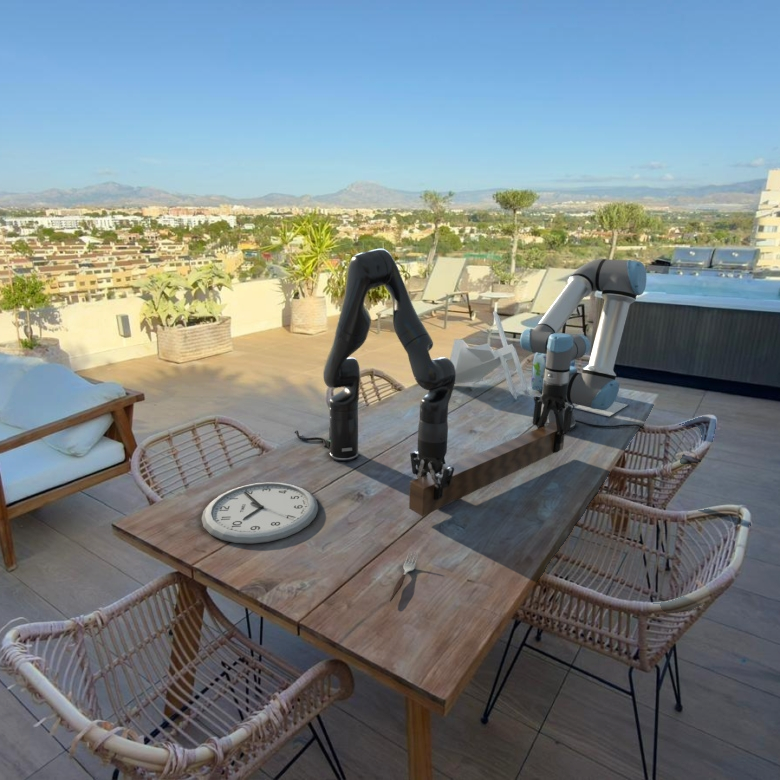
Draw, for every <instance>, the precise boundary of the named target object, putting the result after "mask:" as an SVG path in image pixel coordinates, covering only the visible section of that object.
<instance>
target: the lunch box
mask: <svg viewBox="0 0 780 780" xmlns="http://www.w3.org/2000/svg"><path fill="white" fill-rule="evenodd" d="M546 355H547V354H543V353H537V352H535V353H534V356H533V360H532V367H531V368H532V369H531V382H530V383H531V386H530V387H531V389H532V390H533V391H537V392H542V391H543V381H544V380H543V379H544V375H545V366H546ZM575 364H576V359H575V360H572V361H571V364H570V366H573V367H575Z"/></svg>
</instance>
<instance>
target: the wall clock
mask: <svg viewBox="0 0 780 780" xmlns="http://www.w3.org/2000/svg"><path fill="white" fill-rule="evenodd" d="M318 511H319V505H318V501H317V499H316V498H315V496H314V495H313V494H312V493H310V492H309V491H307V490H306V489H304V488H302V487H299V486H297V485H294V484H290V483H285V482H271V481H269V482H256V483H250V484H246V485H242V486H239V487H235V488H233V489H229V490H227V491H226V492H224V493H221V494H219V495H218V496H217V497H216V498H214V499H213V500H211V502H209V503H208V504H207V506H206V507H205V508H204V510H203V511H202V515H201V523H202V527H203V528H204V530H205V531H207V532H208V533H209V535H211V536H213V537H214V538H217V539H219V540H221V541H225V542H230V543H233V544H234V543H235V544H260V543H261V544H262V543H270V542H273V541H277V540H282V539H285V538H287V537H289V536H292V535H294V534H297V533H299V532H300V531H302V530H303V529H304V528H306V527H308V526H309V525H310V524H311V523H312V522H313V521H314V519H315V518H316V516H317V514H318Z"/></svg>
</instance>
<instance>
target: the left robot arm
mask: <svg viewBox="0 0 780 780" xmlns="http://www.w3.org/2000/svg"><path fill="white" fill-rule="evenodd" d="M379 287H384V288H385V289H386V290H387V292H388V294H389V295H390V299H391V303H392V325H393V331H394V332H395V335H396V337H397V338H398V340H399V342H400V344H401V345H402V347H403V349H404V351H405V352H406V354H407V357H408V362H409V365H410V368H411V372H412V375H413V378H414V380H415V382H416V383H417V384H418V386H420V387H421V388H422V389H424V390H426V391H428V392H427V393H426V394H425V395H424V396H422V398H421V399H420V402H419V403H420V404H419V421H418V426H417V449H416V450H414V451H413V452H410V454H409V455H410V457H409V458H410V463H411V473H412V475H415V476H416V479H418V478H420V477H422V476H425V475H427V474H431V478H432V480H434V484H435V487H434V500H436V501H437V500H439V499H441V498H442V496H443V489H444V488H445V487H448V486H450V483H451V479H452V476H453V472H454V468H453V467H448V466H449V465H447V463H446V460H445V458H446V456H447V455H446V454H447V452H448V435H449V424H448V423H449V422H448V421H449V420H448V419H449V418H448V417H449V403H450V400H451V397H452V394H453V390H454V387H455V385H456V384H455V378H456V371H455V367H454V365H453V363H452V362H451V360H450V358H448V357H445V356H444V357H443V356H439V357H437V358H434V359H432V358H431V355H430V351H431V350H432V348H433V347H434V341H433V339H432V337H431V335H430V334H429V332H428V330H427V329H426V327H425V325H424V323H423V322H422V320H421V319H420V317H419V315H418V313H417V311H416V309H415V307H414V305H413V302H412V299H411V298H410V295H409V292H408V290H407V287H406V285H405V282H404V280H403V277H402V275H401V273H400V270H399V267H398V264H397V262H396V261H395V259H394V258H393V256H392V255H391V253H390V252H389V251H388V250H386V249H384V248H377V249H372V250H368V251H364V252H360V253H357V254H355V255H353V256H352V257H351V258H350V261H349V264H348V267H347V273H346V281H345V288H344V296H343V300H342V304H341V308H340V312H339V315H338V319H337V322H336V327H335V332H334V337H333V340H332V344H331V347H330V350H329V352H328V354H327V357H326V360H325V362H324V366H323V375H322V376H323V381H324V384H325V385H326V387H328V388H330V389H341V388H343V389H342V390H341V391H339V392H338V393H336V394H334V395H332V396H331V397H330V398H329V402H328V405H329V406H328V408H329V409H328V410H329V427H328V438H327V439H325V438H323V437H319V436H316V437H301V436H300V433H299V430H297V429H296V430H294V432H293V434H295V435H296V437H297V438H298V439H299V440H301V441H322V442H323V447H324V448H326V447H327V448H328V449H329V457H330V459H332V460H334V461H337V462H351V461H353V460H356V459H357V458H358V457H359V399H360V381H361V372H360V371H361V369H360V364H359V362H358V360H357V358H355V357H351V356H352V355H353V354H354V353H356V351H358V350H359V349H360V348H361V347H362V346H363V345H364V344H365V342H366V340H367V339H368V335H369V332H370V329H371V325H372V318H371V317H372V316H371V314H370V312H369V310H368V308H367V307H366V305H365V302H366V301H365V300H366V297H367V294H368V292H369V291H370V290H372V289H376V288H379ZM437 473H439V474H438V475H436V474H437ZM438 479H439V481H440V482H438Z"/></svg>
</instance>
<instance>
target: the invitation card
mask: <svg viewBox="0 0 780 780" xmlns="http://www.w3.org/2000/svg"><path fill="white" fill-rule="evenodd" d="M628 406H629V404H627V403H623V402H618V401H614V403H613V404H612V405H611V406H610V407H609V408H608V409H606V410H599V409H592V408H590V407H586V406H582V405H578V404H577V405H575V406H574V409H575V410H581V411H584V412H587V413H593V414H596V415H600V416H604V417H608V418H609V417H611V416H613V415H614V414H616V413H617V412H619V411H621V410H623V409H624V408H626V407H628Z"/></svg>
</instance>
